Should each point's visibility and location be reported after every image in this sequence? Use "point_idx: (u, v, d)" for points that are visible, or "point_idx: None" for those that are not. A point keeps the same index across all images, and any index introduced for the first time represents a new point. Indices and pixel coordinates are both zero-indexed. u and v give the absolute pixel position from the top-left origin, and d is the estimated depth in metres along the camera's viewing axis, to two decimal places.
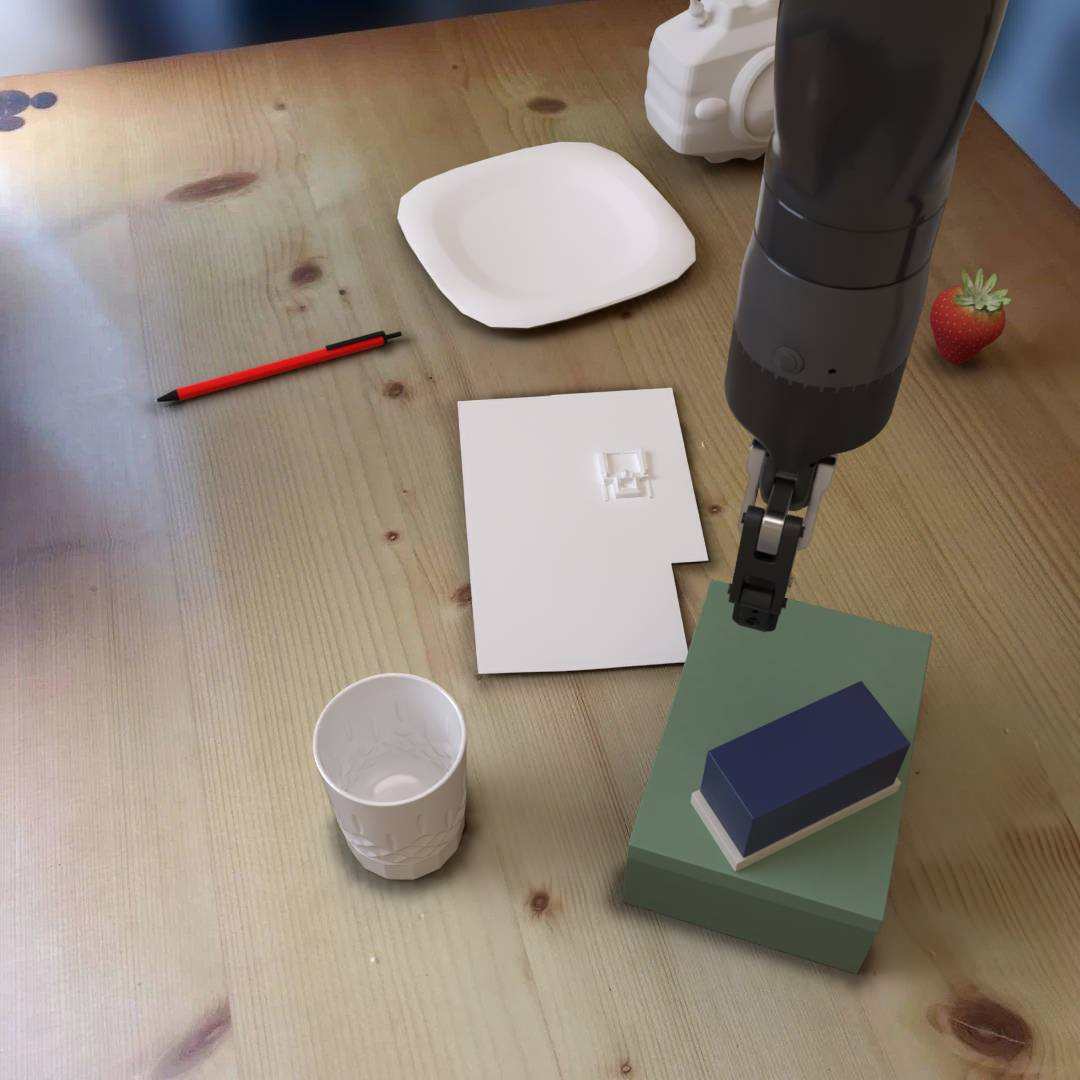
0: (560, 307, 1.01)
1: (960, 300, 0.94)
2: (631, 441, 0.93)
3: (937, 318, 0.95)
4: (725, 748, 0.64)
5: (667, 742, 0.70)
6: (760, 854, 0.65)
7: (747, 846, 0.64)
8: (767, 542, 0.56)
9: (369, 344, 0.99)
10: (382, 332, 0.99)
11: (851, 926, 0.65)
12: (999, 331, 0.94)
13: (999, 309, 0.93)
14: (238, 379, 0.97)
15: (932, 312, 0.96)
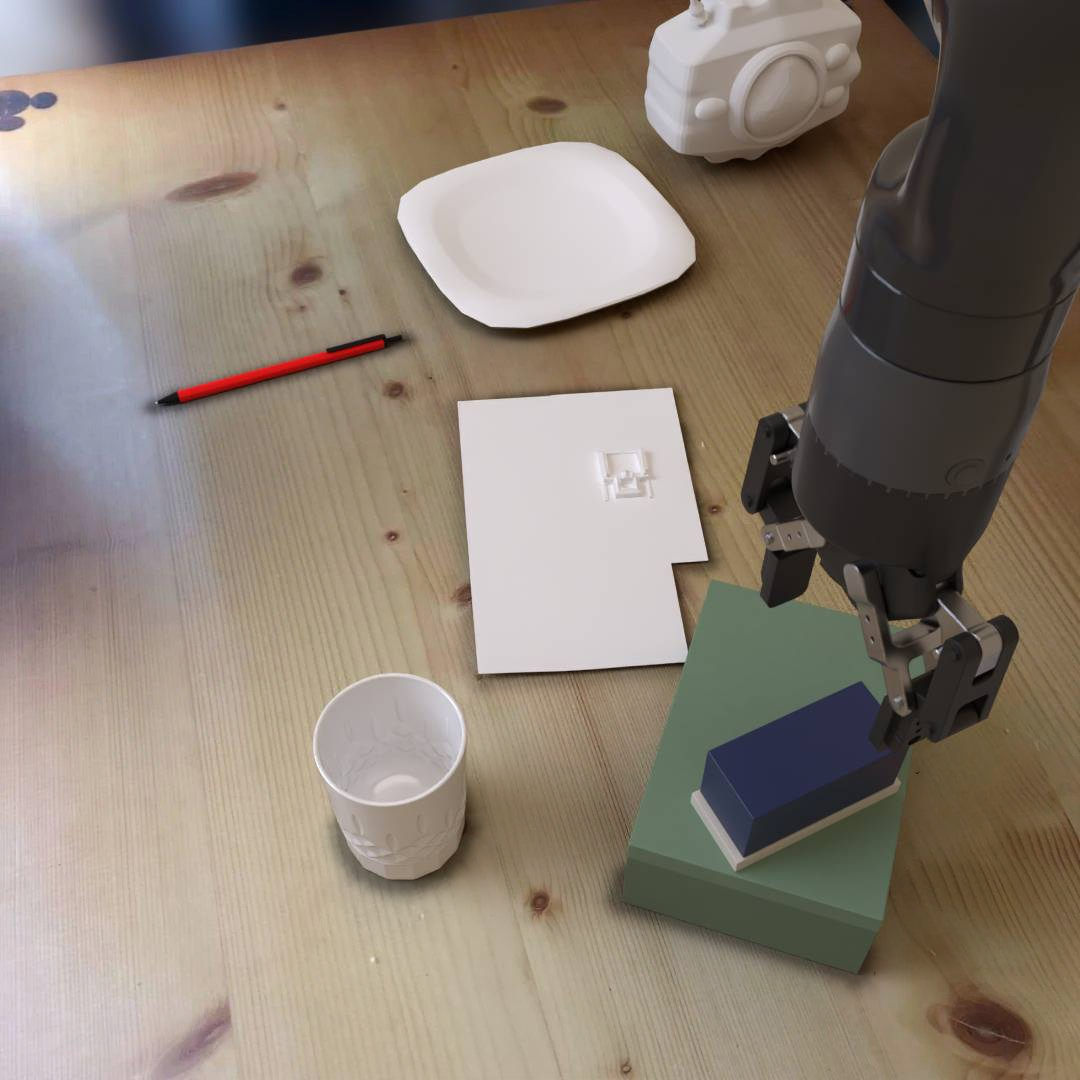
0: (560, 307, 1.01)
1: None
2: (631, 441, 0.93)
3: None
4: (725, 748, 0.64)
5: (667, 742, 0.70)
6: (760, 854, 0.65)
7: (747, 846, 0.64)
8: (987, 662, 0.47)
9: (370, 347, 1.00)
10: (383, 335, 1.00)
11: (851, 926, 0.65)
12: None
13: None
14: (239, 381, 0.97)
15: None
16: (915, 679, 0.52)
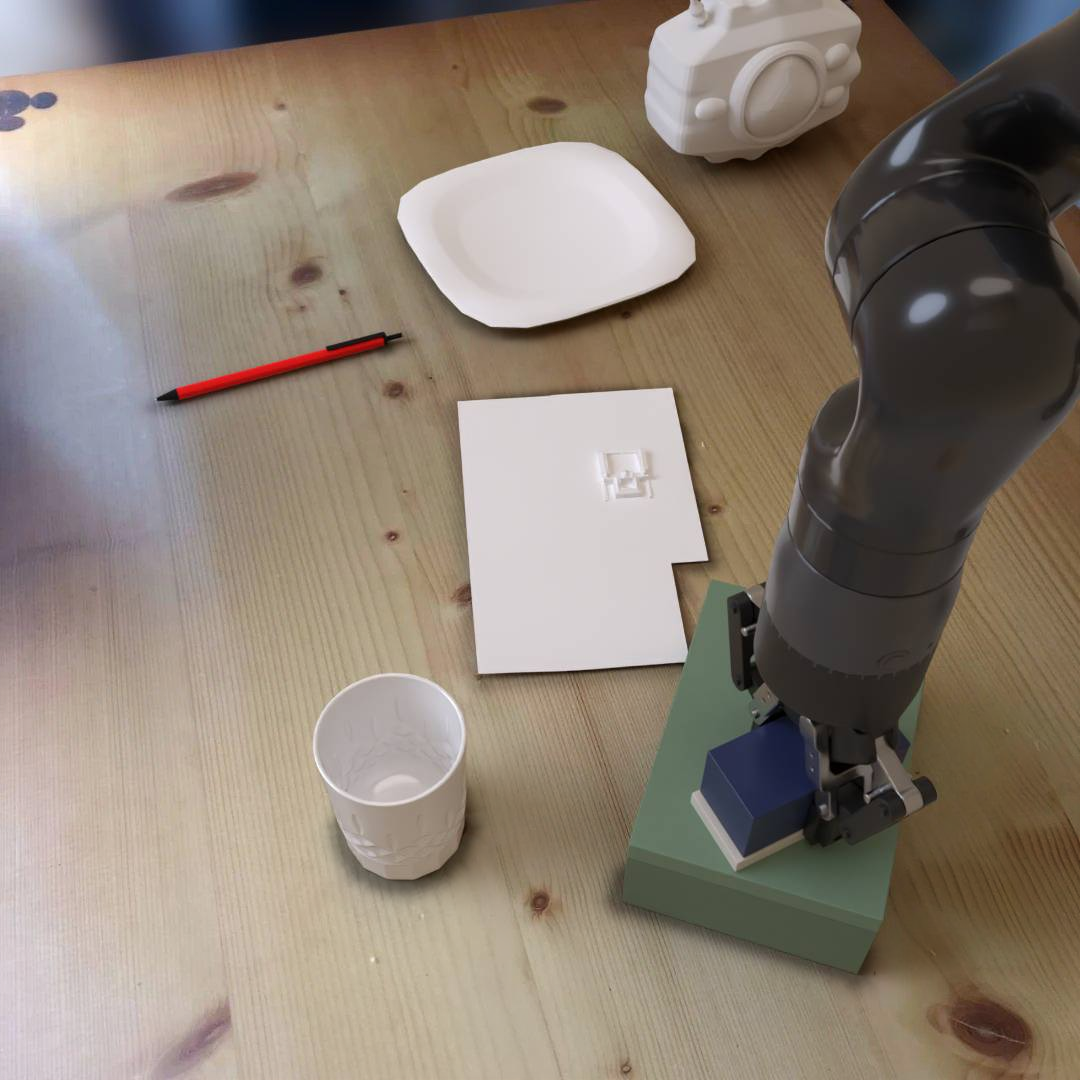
0: (560, 307, 1.01)
1: None
2: (631, 441, 0.93)
3: None
4: (725, 748, 0.64)
5: (667, 742, 0.70)
6: (760, 854, 0.65)
7: (747, 846, 0.64)
8: (908, 815, 0.57)
9: (369, 345, 0.99)
10: (383, 333, 0.99)
11: (851, 926, 0.65)
12: None
13: None
14: (238, 379, 0.97)
15: None
16: None
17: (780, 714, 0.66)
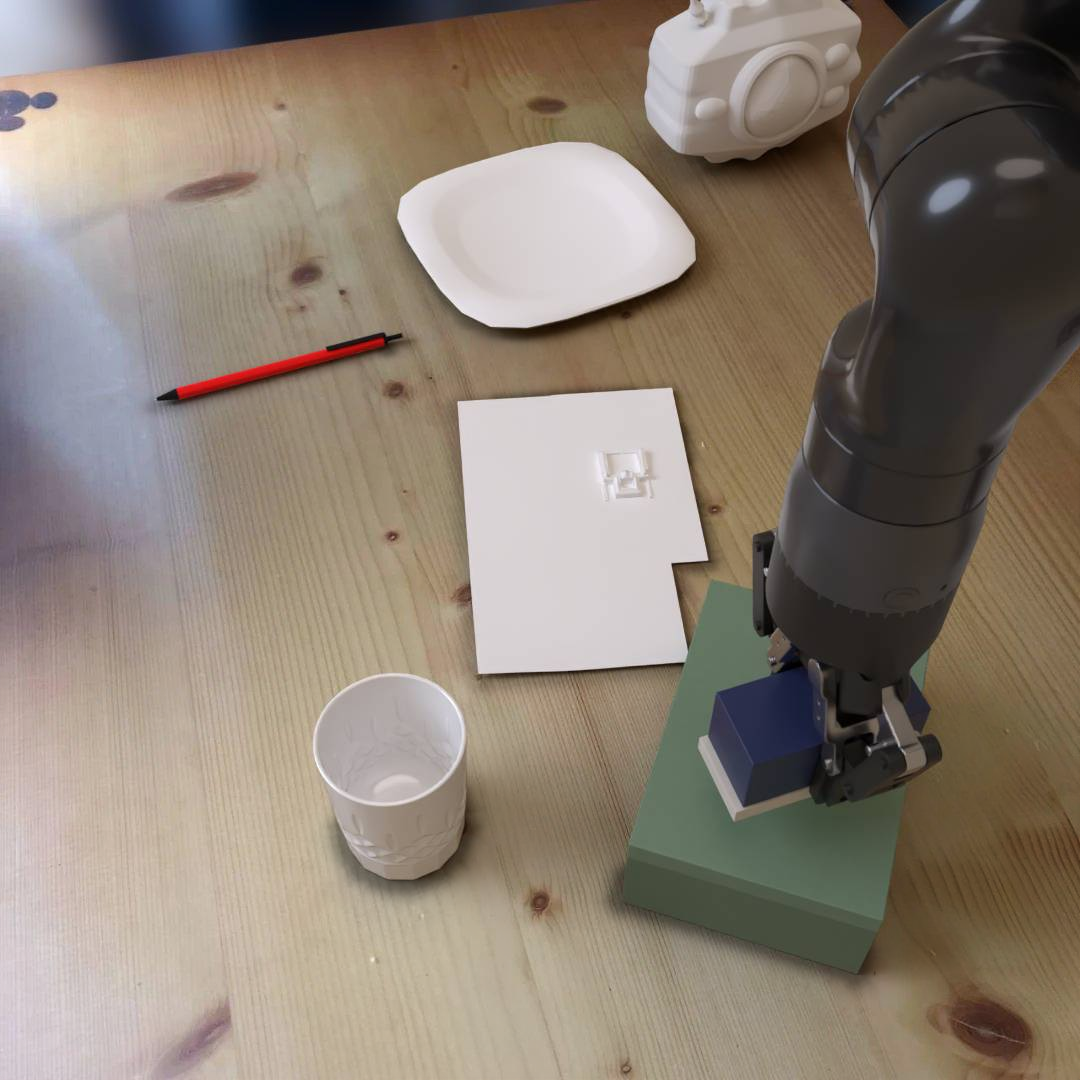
0: (560, 307, 1.01)
1: None
2: (631, 441, 0.93)
3: None
4: (735, 691, 0.62)
5: (667, 742, 0.70)
6: (761, 806, 0.63)
7: (747, 795, 0.61)
8: (909, 772, 0.54)
9: (370, 345, 0.99)
10: (383, 334, 0.99)
11: (851, 926, 0.65)
12: None
13: None
14: (238, 379, 0.97)
15: None
16: (845, 745, 0.60)
17: (798, 664, 0.63)
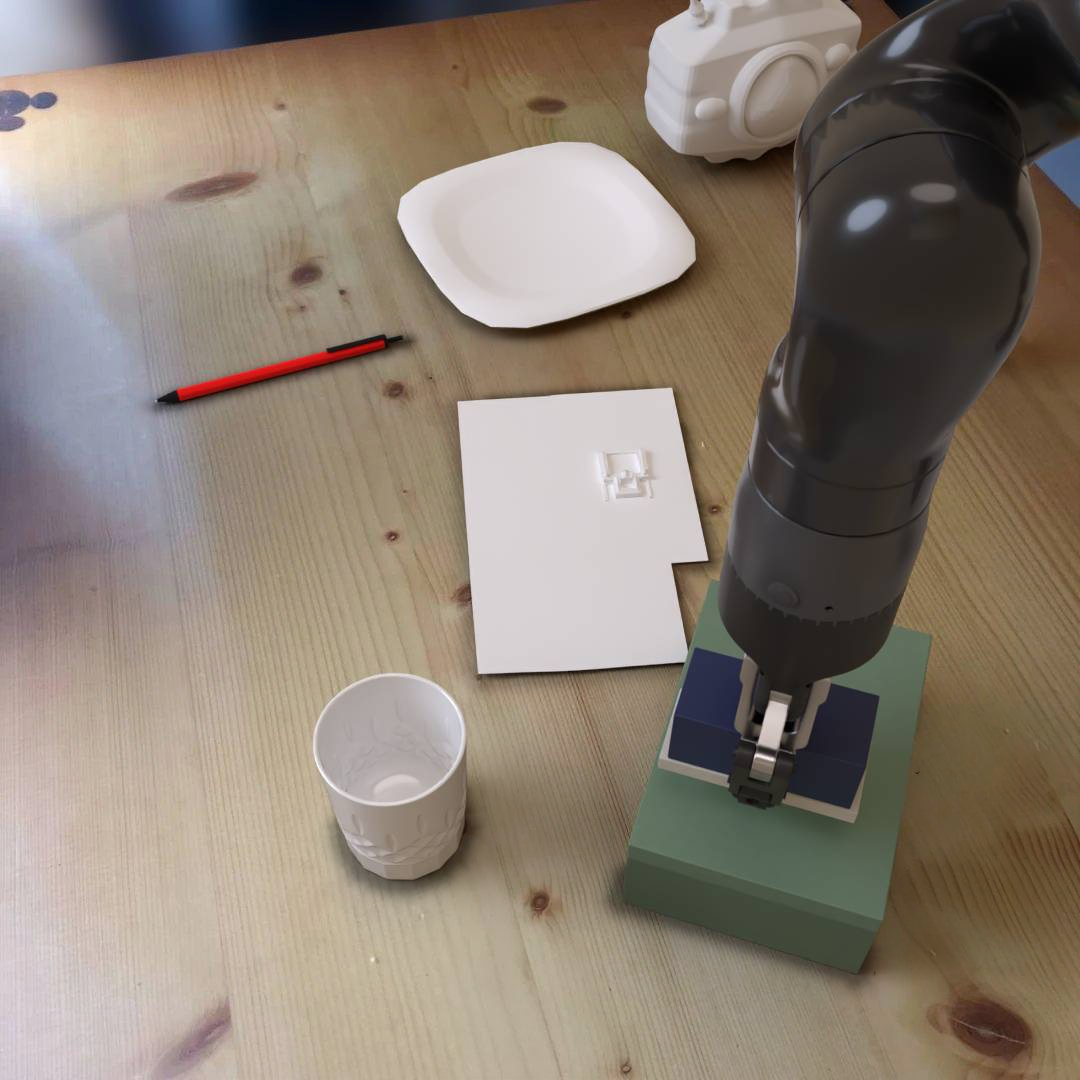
0: (560, 307, 1.01)
1: None
2: (631, 441, 0.93)
3: None
4: (710, 655, 0.64)
5: None
6: (685, 768, 0.65)
7: (670, 745, 0.64)
8: (759, 776, 0.55)
9: (370, 347, 0.99)
10: (383, 336, 0.99)
11: (851, 926, 0.65)
12: None
13: None
14: (238, 380, 0.97)
15: None
16: None
17: None
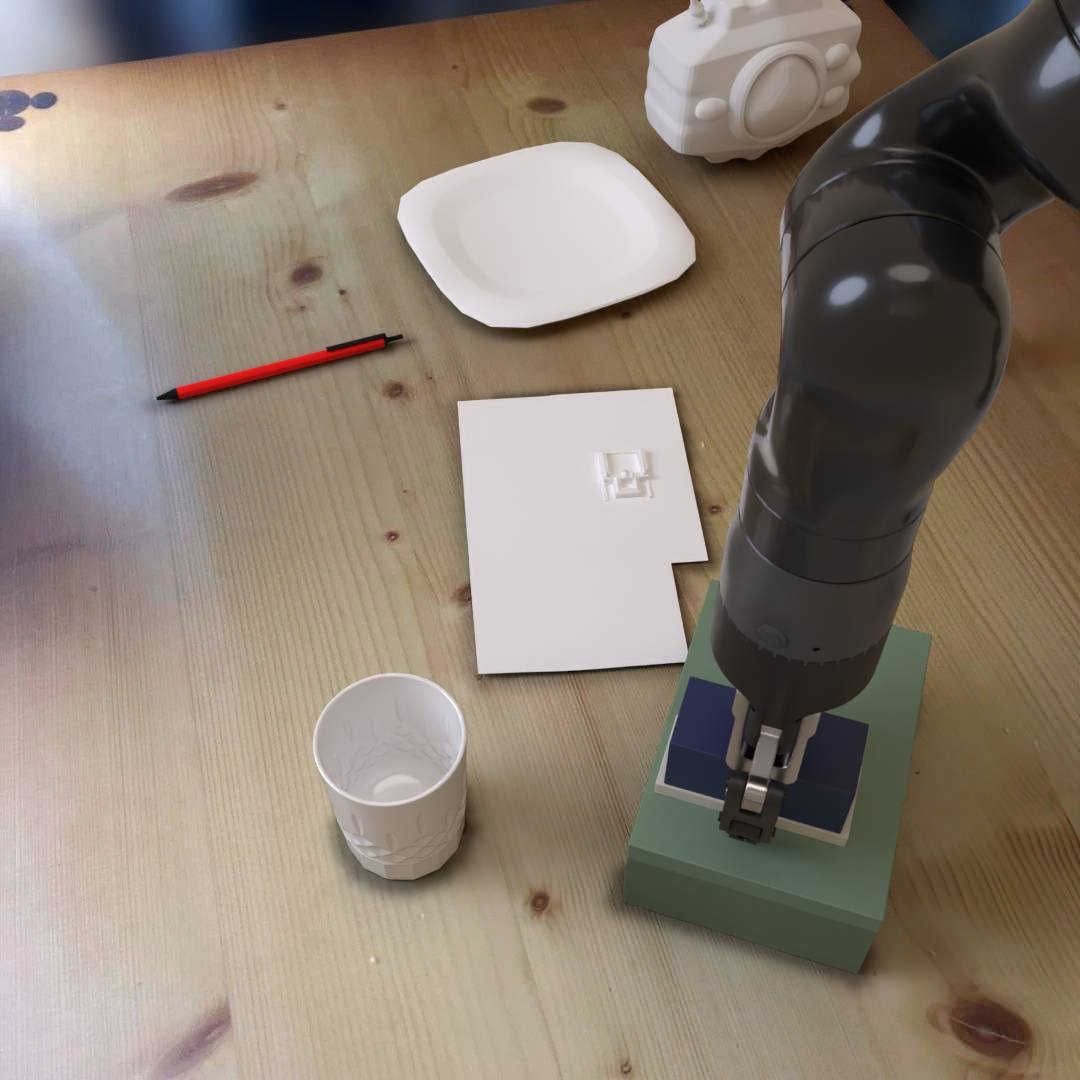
0: (560, 307, 1.01)
1: None
2: (631, 441, 0.93)
3: None
4: (705, 684, 0.66)
5: (667, 742, 0.70)
6: (681, 793, 0.67)
7: (666, 772, 0.66)
8: (750, 806, 0.57)
9: (370, 346, 0.99)
10: (383, 334, 0.99)
11: (851, 926, 0.65)
12: None
13: None
14: (238, 379, 0.97)
15: None
16: None
17: None
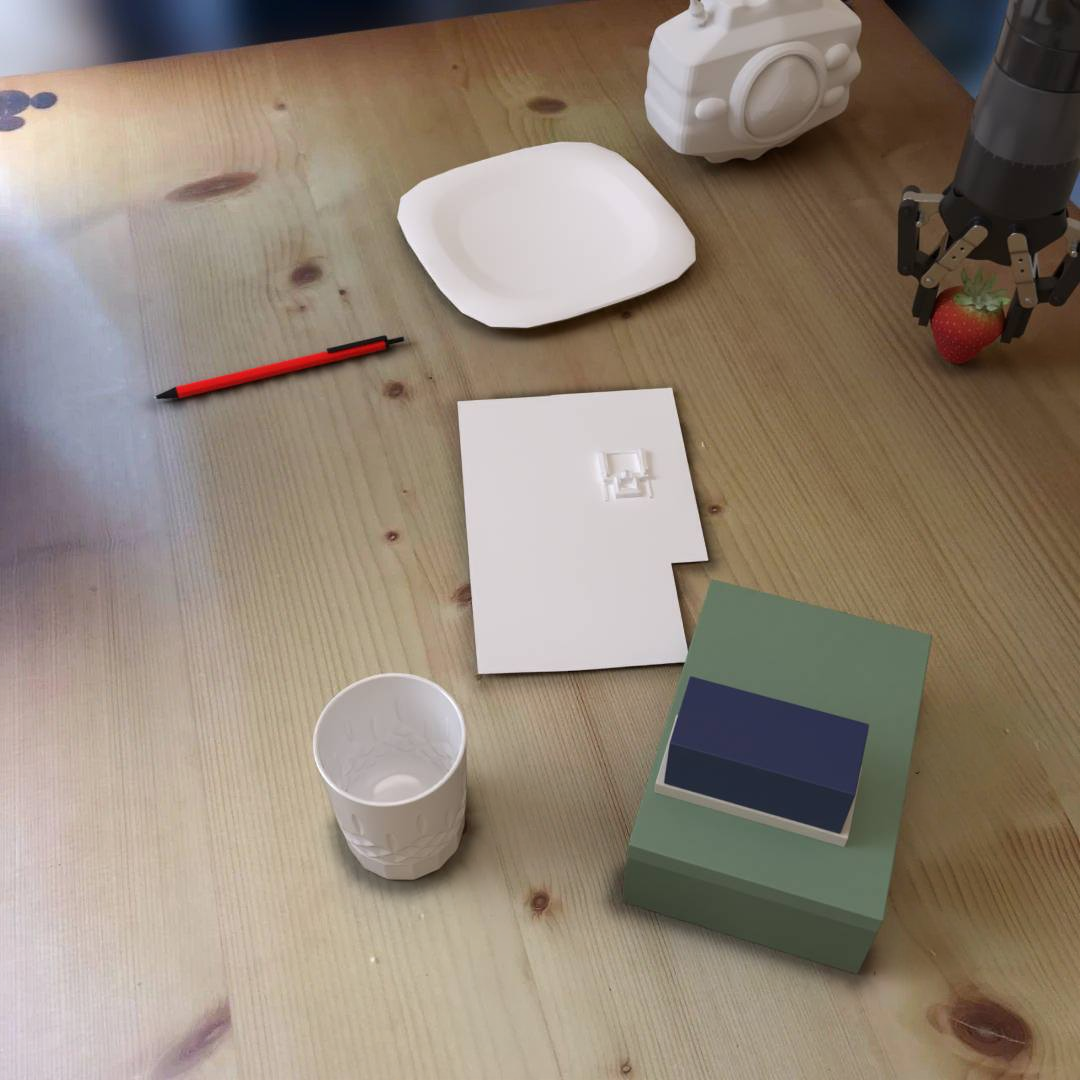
0: (560, 307, 1.01)
1: (960, 300, 0.94)
2: (631, 441, 0.93)
3: (936, 318, 0.95)
4: (705, 684, 0.66)
5: (667, 742, 0.70)
6: (681, 793, 0.67)
7: (666, 772, 0.66)
8: None
9: (371, 348, 0.99)
10: (384, 337, 0.99)
11: (851, 926, 0.65)
12: (999, 331, 0.94)
13: (999, 309, 0.93)
14: (238, 379, 0.97)
15: (932, 312, 0.96)
16: None
17: None
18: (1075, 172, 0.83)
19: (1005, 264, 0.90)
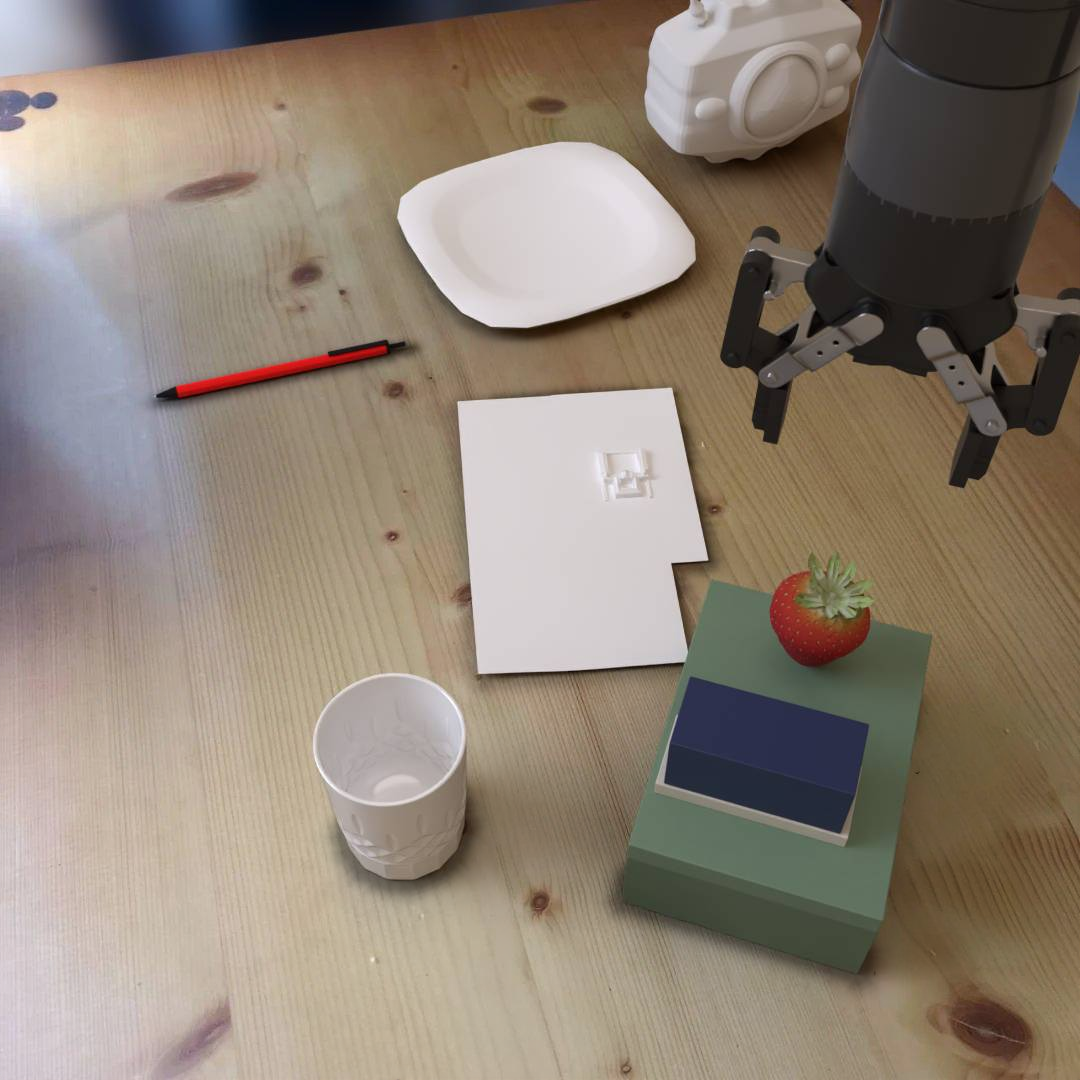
0: (560, 307, 1.01)
1: (805, 601, 0.68)
2: (631, 441, 0.93)
3: (776, 619, 0.69)
4: (705, 684, 0.66)
5: (667, 742, 0.70)
6: (681, 793, 0.67)
7: (666, 772, 0.66)
8: None
9: (372, 352, 0.99)
10: (386, 341, 0.99)
11: (851, 926, 0.65)
12: (860, 640, 0.69)
13: (857, 616, 0.67)
14: (238, 380, 0.97)
15: (771, 608, 0.70)
16: None
17: None
18: (1027, 230, 0.47)
19: (917, 373, 0.55)
